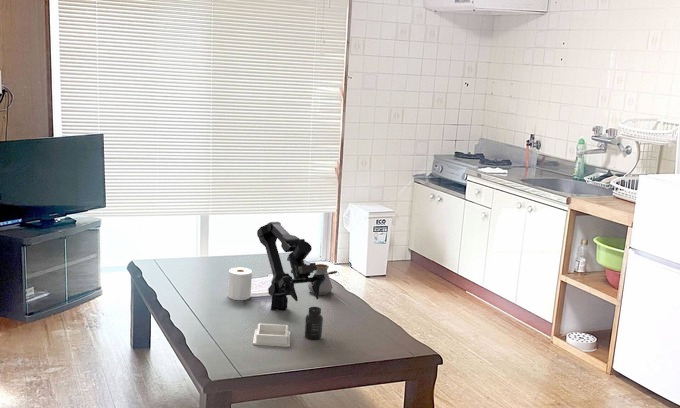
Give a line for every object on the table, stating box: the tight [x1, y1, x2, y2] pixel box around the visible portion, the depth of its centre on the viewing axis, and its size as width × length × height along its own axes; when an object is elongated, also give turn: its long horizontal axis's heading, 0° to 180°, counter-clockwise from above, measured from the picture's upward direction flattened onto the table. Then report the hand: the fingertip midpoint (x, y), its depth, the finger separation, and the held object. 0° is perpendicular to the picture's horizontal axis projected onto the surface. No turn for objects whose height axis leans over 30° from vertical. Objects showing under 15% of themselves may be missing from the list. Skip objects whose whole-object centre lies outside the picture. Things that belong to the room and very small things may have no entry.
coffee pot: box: [307, 263, 340, 296], centre depth 336 cm, size 21×12×15 cm, turn 27°
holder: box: [252, 323, 291, 348], centre depth 283 cm, size 14×14×4 cm
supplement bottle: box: [304, 306, 324, 341], centre depth 287 cm, size 7×7×12 cm
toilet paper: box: [227, 267, 253, 301], centre depth 326 cm, size 10×10×12 cm
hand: (307, 299), depth 291 cm, fingers open, 9 cm apart
